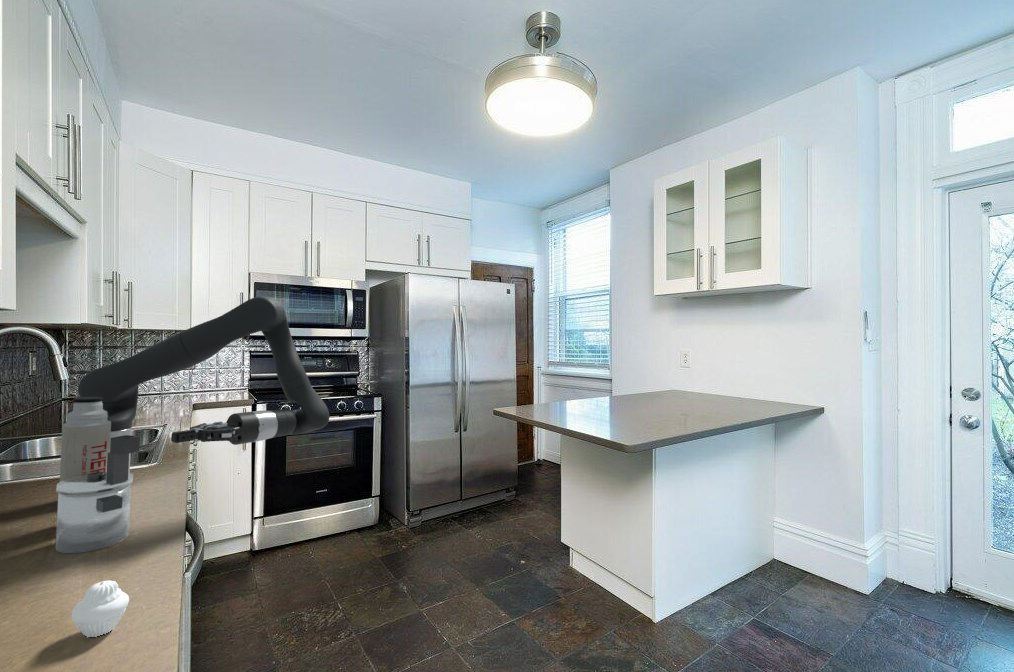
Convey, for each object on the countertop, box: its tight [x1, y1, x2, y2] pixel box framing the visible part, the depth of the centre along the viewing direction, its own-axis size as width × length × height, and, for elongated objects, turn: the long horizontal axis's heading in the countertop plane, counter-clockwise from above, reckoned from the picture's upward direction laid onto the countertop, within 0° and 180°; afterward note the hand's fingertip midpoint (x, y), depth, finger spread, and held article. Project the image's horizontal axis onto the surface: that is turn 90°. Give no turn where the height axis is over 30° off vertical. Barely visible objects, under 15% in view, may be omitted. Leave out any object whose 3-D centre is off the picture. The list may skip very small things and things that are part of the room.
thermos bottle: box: [59, 396, 111, 482], centre depth 101 cm, size 8×8×28 cm
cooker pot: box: [55, 483, 132, 554], centre depth 92 cm, size 14×11×11 cm
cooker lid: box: [55, 435, 141, 495], centre depth 93 cm, size 14×12×10 cm
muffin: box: [71, 580, 130, 638], centre depth 65 cm, size 6×6×7 cm
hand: (173, 437), depth 99 cm, fingers closed
